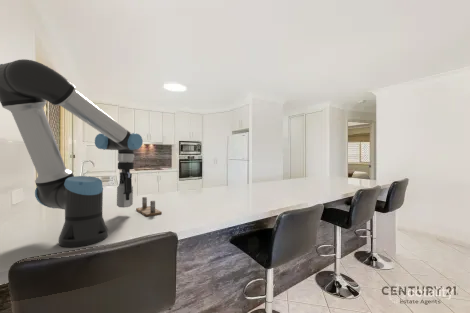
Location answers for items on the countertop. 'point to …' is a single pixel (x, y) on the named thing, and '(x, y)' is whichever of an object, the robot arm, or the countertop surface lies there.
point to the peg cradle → (148, 208)
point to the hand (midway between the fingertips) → (124, 204)
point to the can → (121, 196)
